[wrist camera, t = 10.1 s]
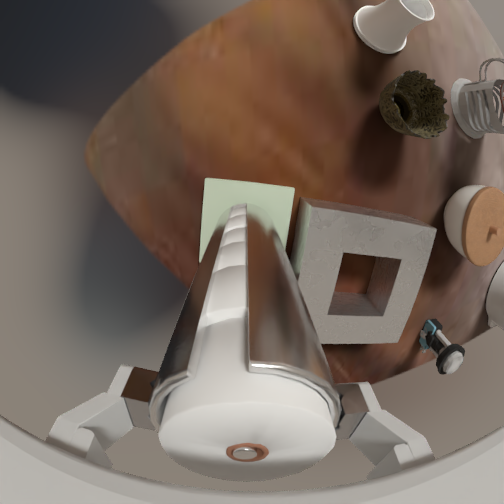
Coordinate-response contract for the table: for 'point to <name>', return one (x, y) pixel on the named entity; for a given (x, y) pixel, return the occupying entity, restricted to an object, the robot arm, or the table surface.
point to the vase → (391, 23)
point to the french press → (478, 104)
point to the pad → (237, 192)
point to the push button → (441, 347)
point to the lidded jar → (476, 223)
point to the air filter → (245, 363)
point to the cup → (414, 105)
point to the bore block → (383, 276)
